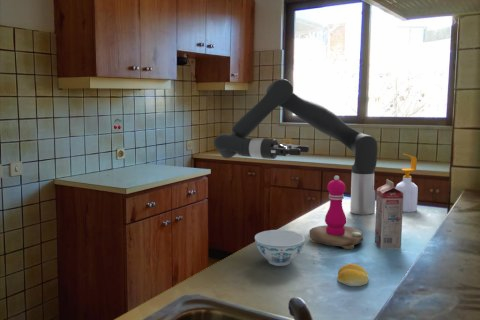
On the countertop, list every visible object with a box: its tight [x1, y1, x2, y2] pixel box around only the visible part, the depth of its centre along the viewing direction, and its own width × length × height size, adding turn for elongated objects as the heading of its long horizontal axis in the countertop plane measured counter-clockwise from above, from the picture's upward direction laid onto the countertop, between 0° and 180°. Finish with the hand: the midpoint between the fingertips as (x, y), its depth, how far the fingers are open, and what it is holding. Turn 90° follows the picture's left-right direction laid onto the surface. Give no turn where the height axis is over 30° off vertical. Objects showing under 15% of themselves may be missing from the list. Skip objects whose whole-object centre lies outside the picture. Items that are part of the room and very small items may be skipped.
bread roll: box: [337, 263, 370, 287], centre depth 125 cm, size 8×9×4 cm
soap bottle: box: [395, 153, 419, 213], centre depth 196 cm, size 9×9×25 cm
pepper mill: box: [324, 175, 347, 235], centre depth 155 cm, size 7×7×20 cm
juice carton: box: [374, 178, 404, 250], centre depth 151 cm, size 7×7×22 cm
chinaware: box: [254, 229, 306, 267], centre depth 138 cm, size 15×15×8 cm
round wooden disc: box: [308, 224, 364, 250], centre depth 157 cm, size 18×18×4 cm
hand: (304, 150), depth 164 cm, fingers open, 8 cm apart
